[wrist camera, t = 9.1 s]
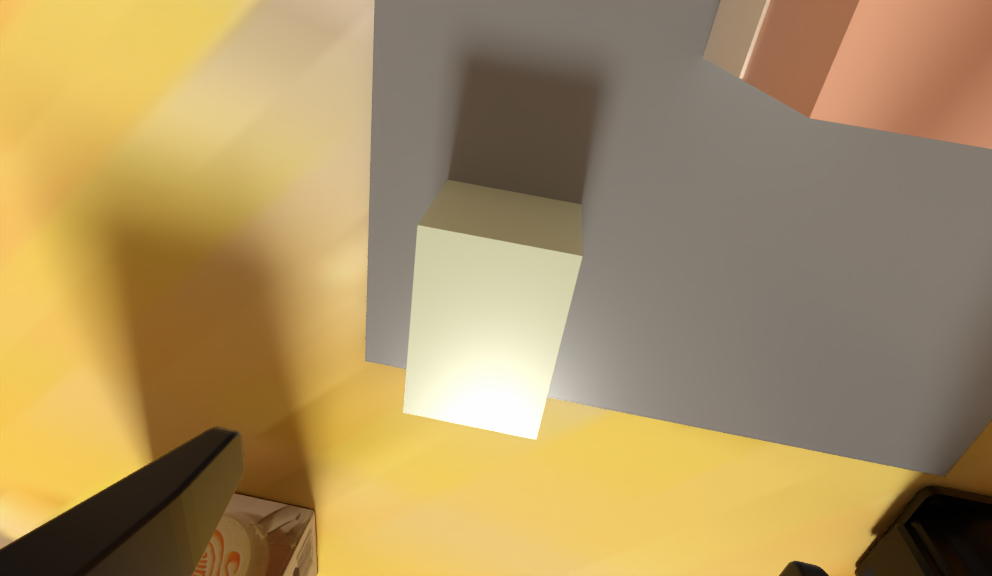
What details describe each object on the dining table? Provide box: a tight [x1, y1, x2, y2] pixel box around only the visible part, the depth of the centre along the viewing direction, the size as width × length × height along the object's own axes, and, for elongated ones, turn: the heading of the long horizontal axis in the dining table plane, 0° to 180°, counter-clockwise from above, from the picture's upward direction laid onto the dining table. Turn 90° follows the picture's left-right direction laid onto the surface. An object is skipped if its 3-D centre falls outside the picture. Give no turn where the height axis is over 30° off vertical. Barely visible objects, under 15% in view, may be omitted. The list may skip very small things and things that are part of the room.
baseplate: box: [365, 0, 992, 477], centre depth 15 cm, size 24×22×4 cm
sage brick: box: [403, 180, 583, 439], centre depth 18 cm, size 7×5×4 cm, turn 172°
